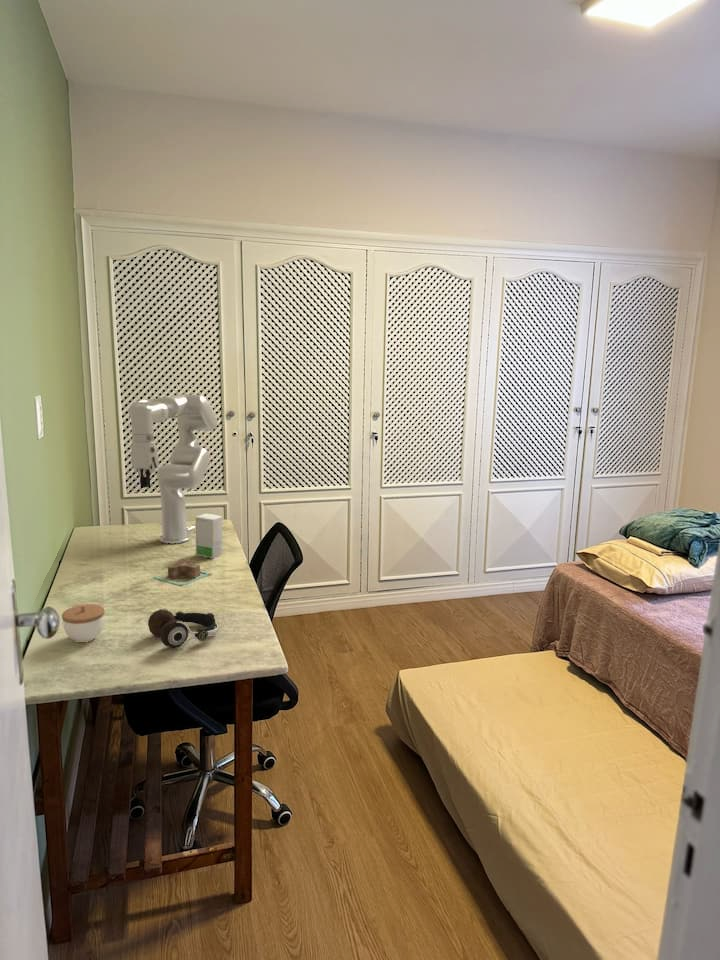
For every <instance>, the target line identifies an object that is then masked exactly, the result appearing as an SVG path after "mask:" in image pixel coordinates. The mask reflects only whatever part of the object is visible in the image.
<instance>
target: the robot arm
mask: <svg viewBox="0 0 720 960" xmlns="http://www.w3.org/2000/svg"><path fill="white" fill-rule="evenodd" d="M128 415H129V417H130V423H131V424H130V425H131V438H132V439H131V446H130V447H131V449H130V450H131V452H130V455H131V456H130V459H131V465H132V467H133V469H134V471H136V472H137V473H138V477H139V482H140V488H145V489H146V488H149V487H150V486H151V477H152V473H153V474H154V473H156V469H158V468H159V469H158V470H157V474H156V477H157V481H158V482H157V483H158V486H159V491H160V505H161V506H160V508H161V525H162V526H161V528H162V535H160V536H159V537H158V541H159V542H160V543H162V542H163V544H168V543H170V544H169V545H171V544H175V543H176V544H181V543H182V542H183V543H186V542H188V541H190V540H191V535H190V534H189V533H191V532H193V531H196V526H194V525H193V526H189V527H188V526H187V516H186V515H187V514H186V513H187V511H186V510H187V509H186V497H185V493H184V492H183V490H184V489H185V490H187V489H188V490H189V489H190V490H194V489H197V488H198V487H199V486H200V485H201V482H202V481H203V479H204V476H205V474H206V473H207V470H208V469H209V465H210V452H209V451H208V450H207V448H204V447H202V446H199V444H200V441H199V439H198V438H197V435H196V434H195V433H194V432H193V431H203V432H205V431H206V432H211V431H214V430H215V429H216V428H217V425H218V418H217V417H218V416H217V414H216V413H215V410H214V409H213V407H212V405H211V404H210V402H209V401H208V400H207V398H206V397H205V396H204V395H202V394H188V393H187V394H184V393H182V394H180V393H179V394H175V395H171V396H167V397H157V398H149V399H141V400H136V401H133V402H132V403H131V404H130V406H129V408H128ZM175 418H177V420H176V423H177V429H178V441H177V443H176V445H175V447H174V448H173V451H172V452H171V455H170V457H169V462H170V463H167V464H163V465H161V466H160V467H159V454H158V450H157V445H156V442H155V438H154V437H155V435H154V423H158V424H159V423H162V422H165V421H166V420H167V419H168V420H169V419H175ZM182 489H183V490H182ZM183 543H182V544H183Z"/></svg>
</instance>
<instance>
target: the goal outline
mask: <svg viewBox="0 0 720 960" xmlns="http://www.w3.org/2000/svg"><path fill="white" fill-rule="evenodd" d="M200 572H201V573H200V574H203V575H200V576H199V577H197V578H192V579H191V580H188V581H186V582H184V583H179V582H175V581H173V580H168V579H165V578H162V577H158V576H153V579H157V580H160V581H162V582H166V583H170V584H173V585H176V586H179V587H183V586H186V585H187V584H190V582H191V583H193V582H196V581H198V580H201V579H203V578H205V576H206V577H209V576H211V575H210V574H211V573H210V572H205V571H202V570H200ZM204 573H205V574H204ZM208 575H209V576H208ZM202 577H203V578H202ZM200 578H201V579H200ZM197 579H198V580H197ZM195 580H196V581H195ZM192 581H193V582H192ZM185 584H186V585H185Z"/></svg>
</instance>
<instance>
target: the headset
mask: <svg viewBox="0 0 720 960" xmlns="http://www.w3.org/2000/svg"><path fill="white" fill-rule="evenodd" d="M186 623H191V624H197V625H201V626H203V627H198V628H197V629H196V630H195V631H191V629H190V627H189V626H188V625H187V624H186ZM147 625H148V630H149V632H150V633H151V634H152V635H154V636H156V637H160V640H161V641H160V642H161V643H163V645H164V646H166V647H168V648H173V649H175V648H177V649H181V648H184V647H185V646H186V645H187V644H188V643H189V642H190V641H191V640H194V639H197V640H198V641H200V642H203V641H206V640H207V638H210V637H214V636H216V635H217V632H218V630H219V624H218V623H217V622H216V618H215V615H214V614H213V613H212V612H208V613H203V612H183V611H177V612H175V614H173V613H172V612H171V611H170V610H169V609H167V608H166V607H162V608H159V609H158V610H156V611H154V612H153V613H152V614H151V615H150V616H149V618H148V620H147ZM189 633H190V634H194V636H193V637H190V638H189V639H188V637H189Z"/></svg>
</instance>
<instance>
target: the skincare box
mask: <svg viewBox="0 0 720 960" xmlns="http://www.w3.org/2000/svg"><path fill="white" fill-rule="evenodd" d="M220 554H221V555H222V554H223V516H222V515H217V514H212V513H211V514H210V513H203V514H200V515H196V516H195V556H196V555H197V556H196V557H201V556H203V557H202V558H207V557H210V558H209V559H212V558H213V559H215V558H217V557H219V556H221V555H220ZM218 555H219V556H218ZM216 556H217V557H216ZM214 557H215V558H214Z"/></svg>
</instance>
